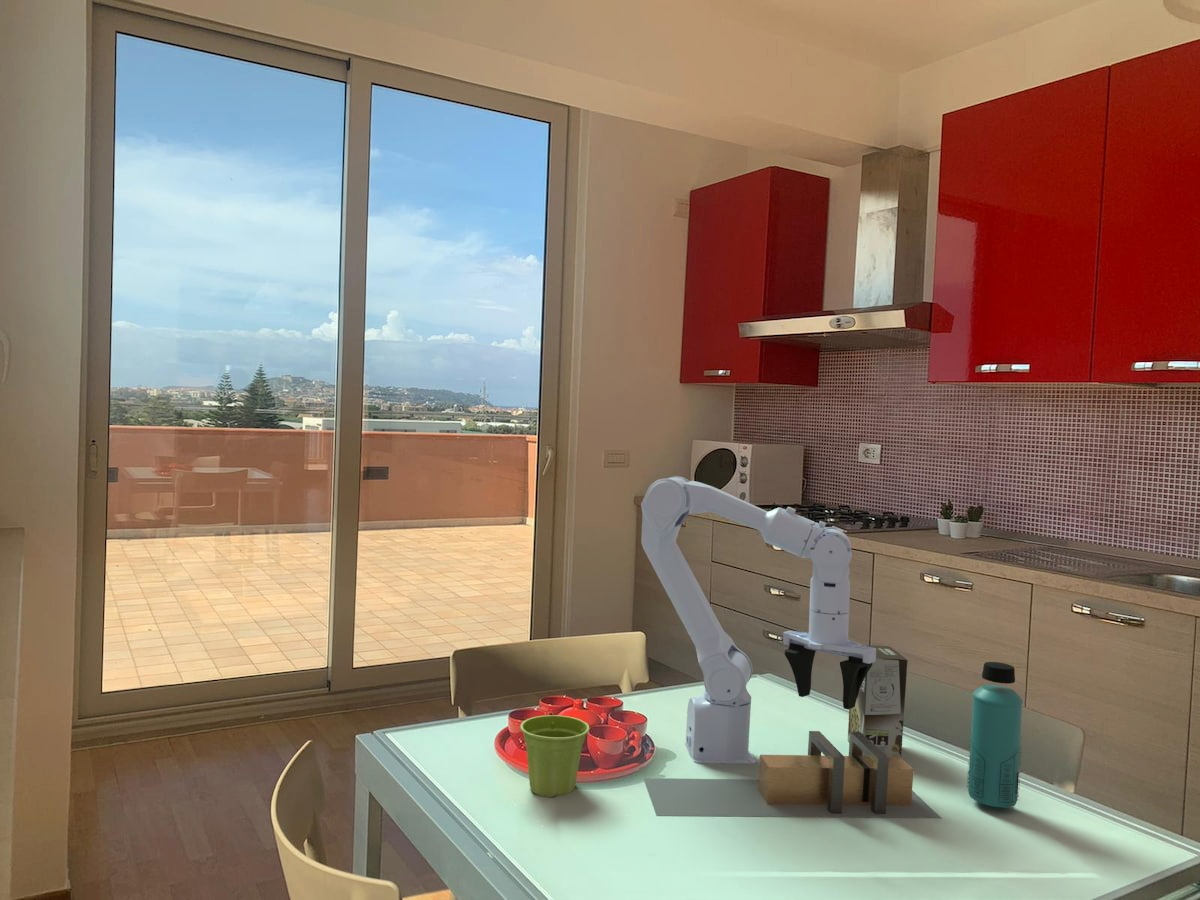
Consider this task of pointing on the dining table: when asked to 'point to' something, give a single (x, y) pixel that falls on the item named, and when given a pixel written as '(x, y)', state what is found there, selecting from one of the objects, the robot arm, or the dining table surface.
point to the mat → (753, 801)
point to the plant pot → (553, 752)
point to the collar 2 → (879, 772)
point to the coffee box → (882, 702)
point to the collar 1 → (836, 774)
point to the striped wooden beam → (810, 780)
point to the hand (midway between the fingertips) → (826, 701)
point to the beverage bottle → (995, 739)
